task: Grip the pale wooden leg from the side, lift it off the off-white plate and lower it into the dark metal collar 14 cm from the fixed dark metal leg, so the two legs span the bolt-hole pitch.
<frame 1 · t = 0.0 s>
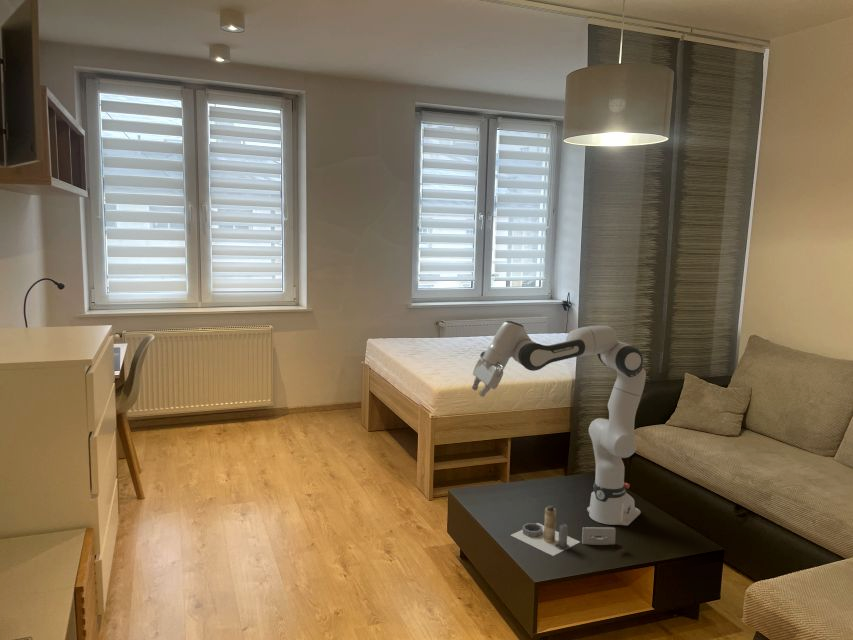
hand: (477, 392, 241), 54 cm above the table, tool tilted 30°, fingers open, 8 cm apart
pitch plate: (544, 542, 240), on the table
cassette: (598, 548, 236), on the table
wooden leg: (549, 540, 238), point 1 cm above the table, touching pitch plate
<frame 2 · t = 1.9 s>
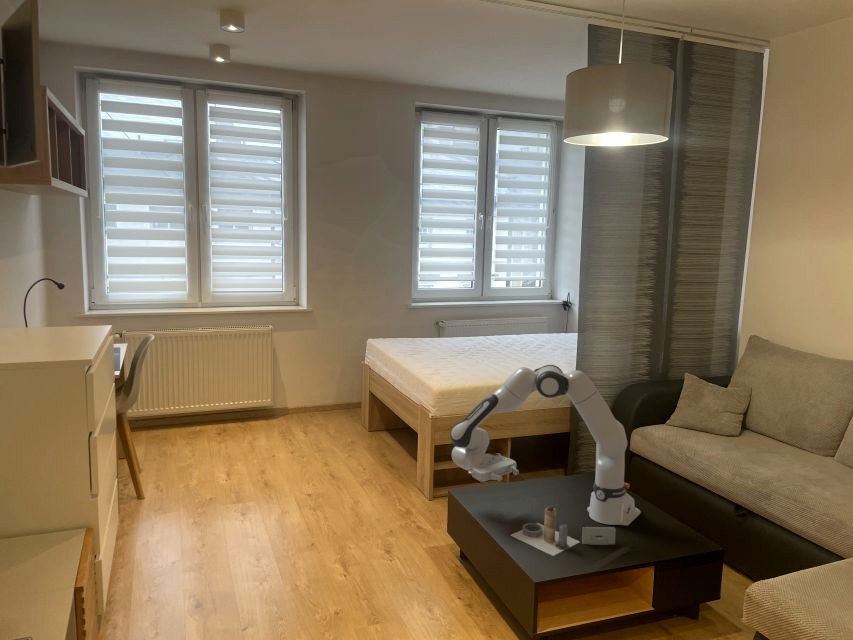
hand: (509, 475, 250), 20 cm above the table, tool horizontal, fingers open, 8 cm apart
nothing on the table moved.
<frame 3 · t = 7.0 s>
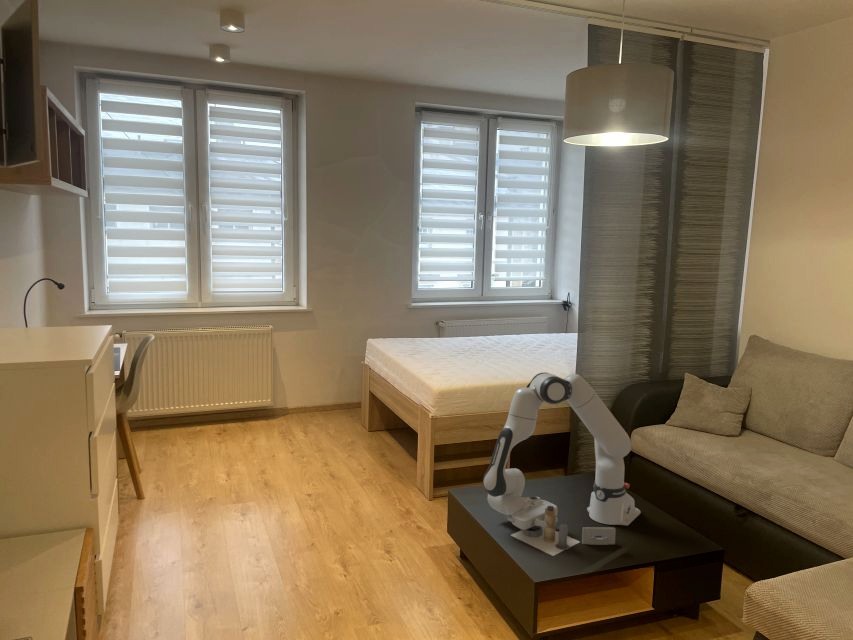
hand: (552, 522, 236), 9 cm above the table, tool horizontal, fingers closed on wooden leg, 4 cm apart
wooden leg: (549, 540, 238), point 1 cm above the table, touching gripper, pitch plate
everything else where it was.
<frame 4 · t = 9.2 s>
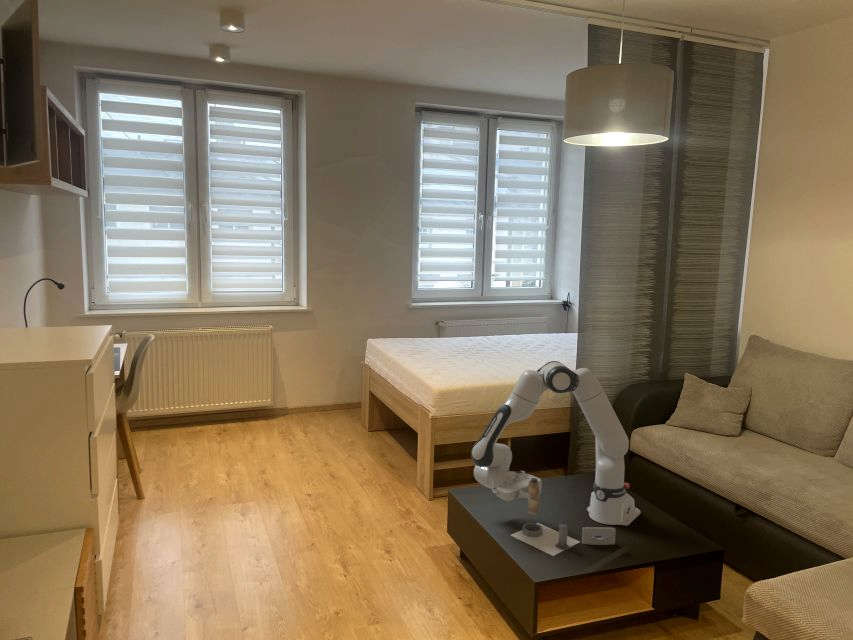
hand: (535, 494, 241), 17 cm above the table, tool horizontal, fingers closed on wooden leg, 4 cm apart
wooden leg: (532, 512, 243), point 10 cm above the table, touching gripper
everything else where it was.
when the fingers open (10 cm above the table, at t = 11.4 s): wooden leg drops 1 cm, resting on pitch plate.
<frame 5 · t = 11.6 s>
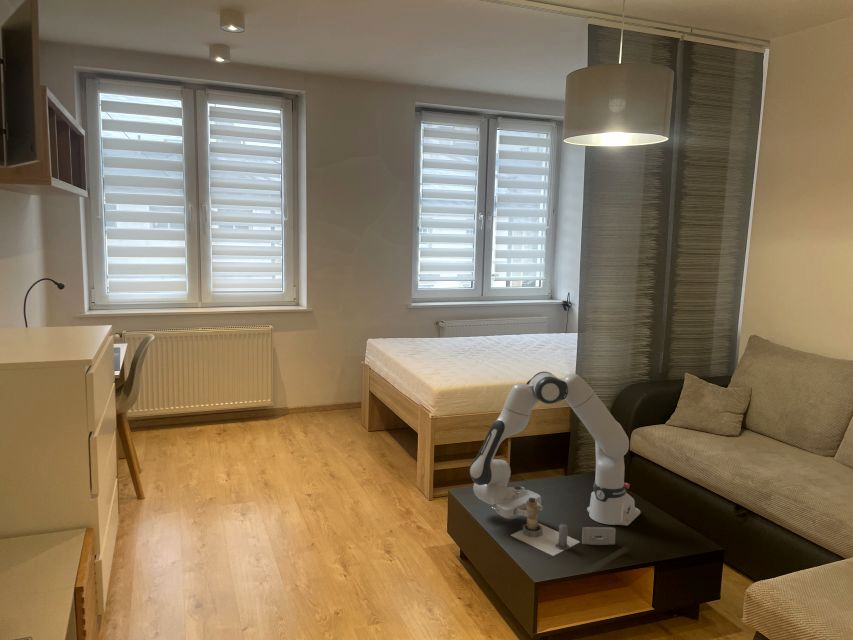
hand: (535, 511, 242), 10 cm above the table, tool horizontal, fingers open, 6 cm apart
wooden leg: (532, 532, 244), point 2 cm above the table, touching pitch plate
everything else where it was.
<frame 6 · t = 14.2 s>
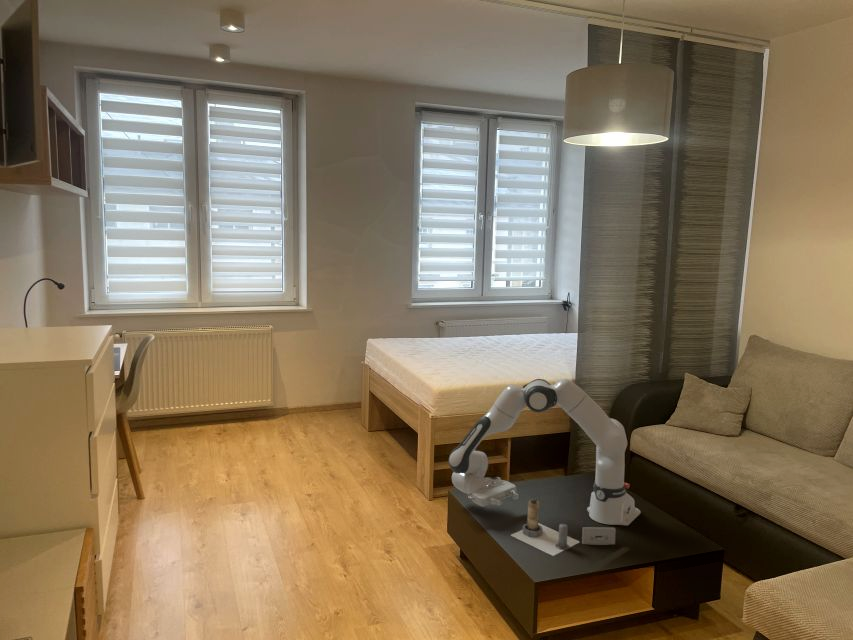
hand: (509, 500, 252), 10 cm above the table, tool horizontal, fingers open, 8 cm apart
nothing on the table moved.
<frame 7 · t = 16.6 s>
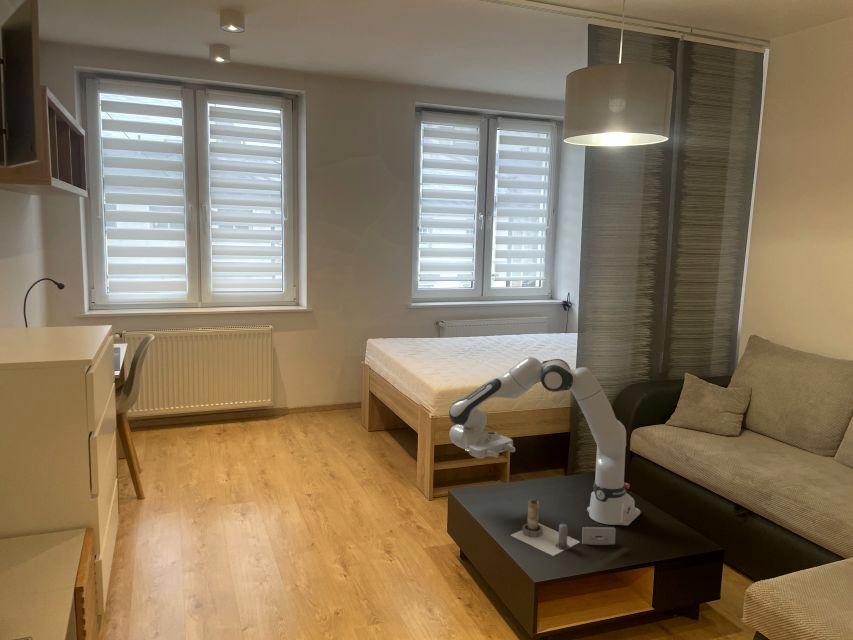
hand: (506, 452, 254), 28 cm above the table, tool horizontal, fingers open, 8 cm apart
nothing on the table moved.
at the end: wooden leg 0.0 cm from the target spot on the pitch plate, point 1.6 cm above the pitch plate's base; wooden leg tilted 0°; the gripper is holding nothing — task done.
